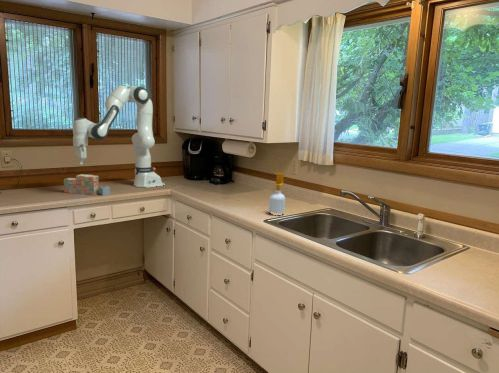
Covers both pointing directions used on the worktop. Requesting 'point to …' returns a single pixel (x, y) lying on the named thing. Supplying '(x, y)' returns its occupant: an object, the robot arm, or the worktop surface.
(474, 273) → the worktop surface
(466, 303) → the worktop surface
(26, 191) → the worktop surface
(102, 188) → the slate cube
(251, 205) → the worktop surface
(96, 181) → the stack of blocks
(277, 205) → the soap bottle
